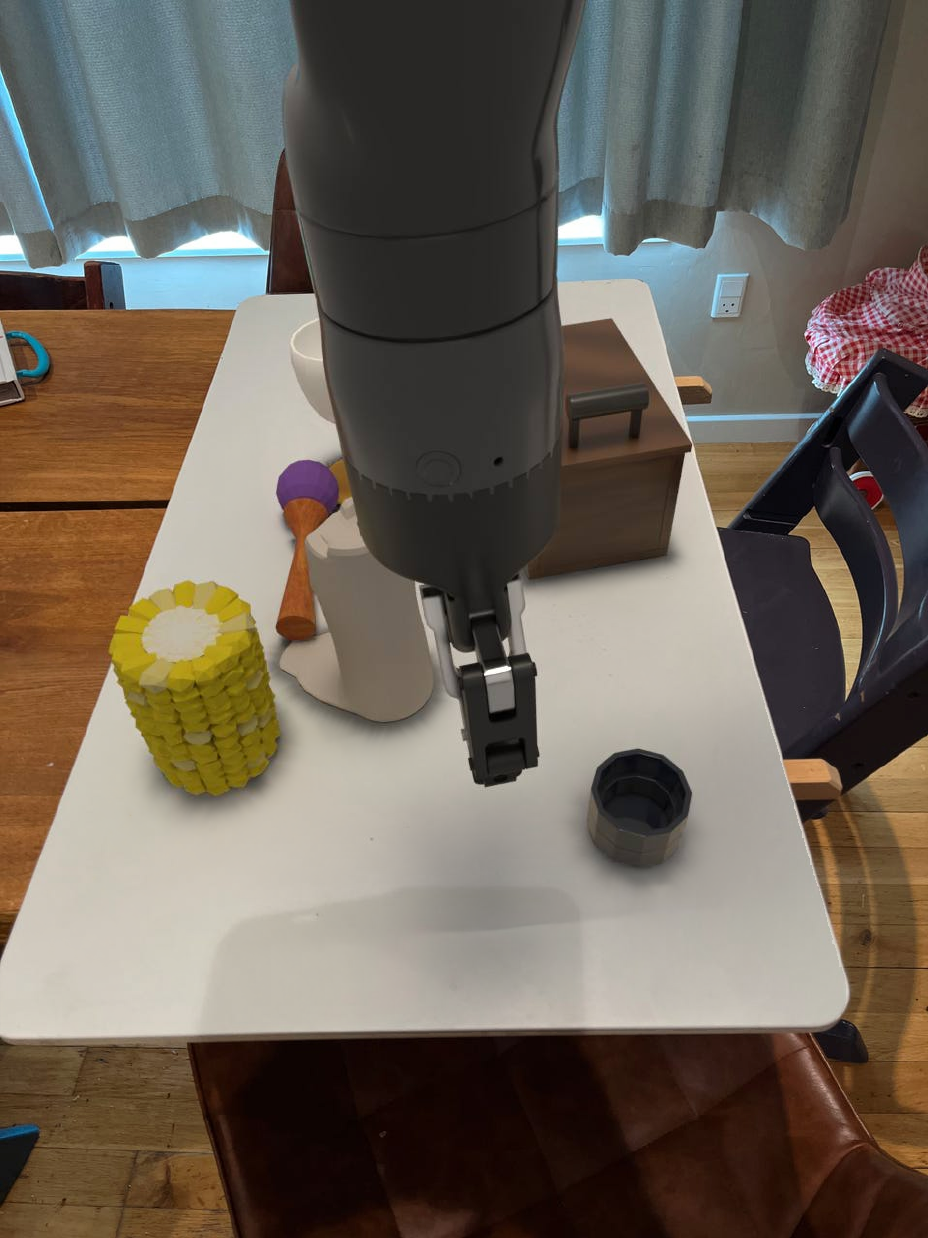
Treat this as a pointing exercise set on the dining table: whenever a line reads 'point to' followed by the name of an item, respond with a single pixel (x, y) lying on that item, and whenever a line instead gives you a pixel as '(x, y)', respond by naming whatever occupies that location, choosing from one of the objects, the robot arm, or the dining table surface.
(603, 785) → the bowl
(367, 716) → the candle
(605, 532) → the chest
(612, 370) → the lid
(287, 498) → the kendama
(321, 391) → the cup
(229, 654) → the food
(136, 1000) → the dining table surface
